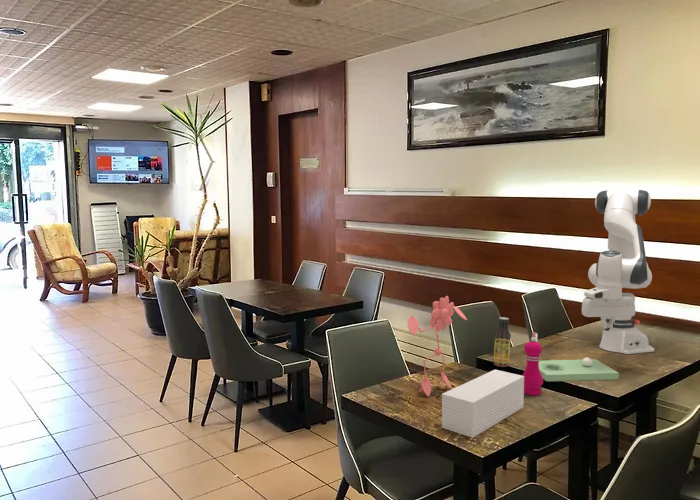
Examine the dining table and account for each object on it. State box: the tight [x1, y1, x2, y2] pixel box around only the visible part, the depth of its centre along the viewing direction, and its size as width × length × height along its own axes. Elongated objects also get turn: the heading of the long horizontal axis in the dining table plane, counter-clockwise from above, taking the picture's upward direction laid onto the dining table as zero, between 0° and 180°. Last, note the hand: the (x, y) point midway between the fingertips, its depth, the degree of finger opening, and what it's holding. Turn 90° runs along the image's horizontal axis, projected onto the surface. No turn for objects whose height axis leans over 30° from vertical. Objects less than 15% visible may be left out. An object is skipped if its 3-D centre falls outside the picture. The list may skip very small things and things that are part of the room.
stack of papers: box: [441, 369, 525, 439], centre depth 178 cm, size 32×11×11 cm, turn 137°
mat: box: [531, 331, 620, 382], centre depth 221 cm, size 28×20×14 cm
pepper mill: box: [522, 336, 544, 396], centre depth 198 cm, size 7×7×20 cm
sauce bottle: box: [493, 316, 512, 368], centre depth 230 cm, size 6×6×20 cm
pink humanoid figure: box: [406, 295, 468, 398], centre depth 196 cm, size 15×26×35 cm, turn 128°
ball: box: [581, 356, 592, 366], centre depth 221 cm, size 4×4×4 cm
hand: (607, 327), depth 220 cm, fingers closed
